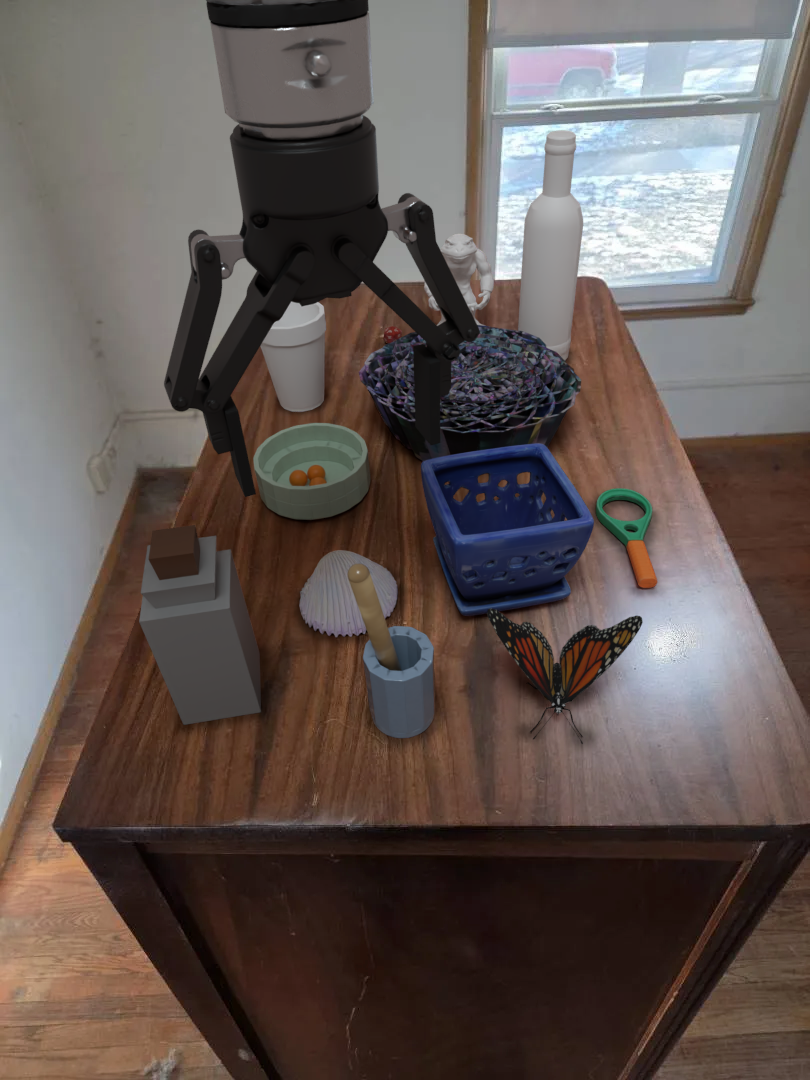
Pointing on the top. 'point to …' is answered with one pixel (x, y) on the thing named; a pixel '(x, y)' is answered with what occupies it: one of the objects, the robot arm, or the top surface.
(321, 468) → the bead
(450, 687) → the top surface
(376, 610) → the stick
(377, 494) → the top surface
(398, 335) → the die
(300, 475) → the bead
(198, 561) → the perfume bottle
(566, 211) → the bottle
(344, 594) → the seashell
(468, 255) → the figurine
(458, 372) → the decorative bowl
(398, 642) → the holder
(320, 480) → the bead
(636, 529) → the magnifying glass
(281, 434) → the bowl
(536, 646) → the butterfly
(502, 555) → the flower pot
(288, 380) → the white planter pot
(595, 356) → the top surface
